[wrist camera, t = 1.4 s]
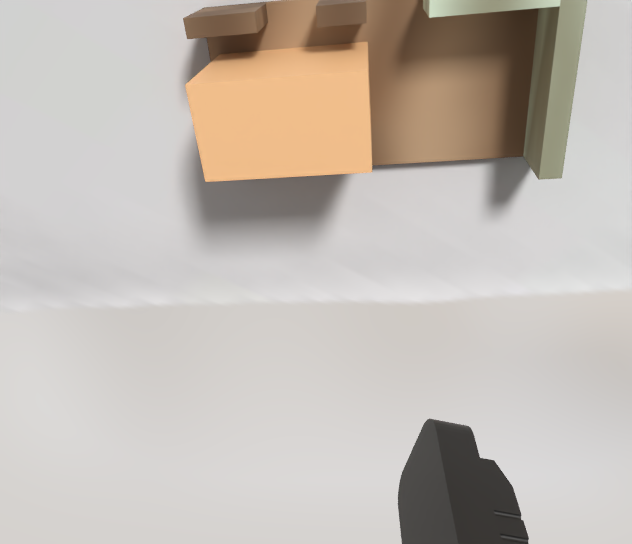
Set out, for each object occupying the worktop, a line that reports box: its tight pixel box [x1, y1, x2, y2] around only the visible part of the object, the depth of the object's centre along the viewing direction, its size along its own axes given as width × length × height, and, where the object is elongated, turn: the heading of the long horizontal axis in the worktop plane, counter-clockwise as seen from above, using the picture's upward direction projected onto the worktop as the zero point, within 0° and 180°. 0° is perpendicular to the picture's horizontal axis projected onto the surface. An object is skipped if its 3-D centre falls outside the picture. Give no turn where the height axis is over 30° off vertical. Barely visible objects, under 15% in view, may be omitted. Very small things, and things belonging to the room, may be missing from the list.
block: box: [185, 42, 372, 182], centre depth 25 cm, size 7×4×6 cm, turn 95°
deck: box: [183, 0, 587, 179], centre depth 26 cm, size 16×8×4 cm, turn 95°
